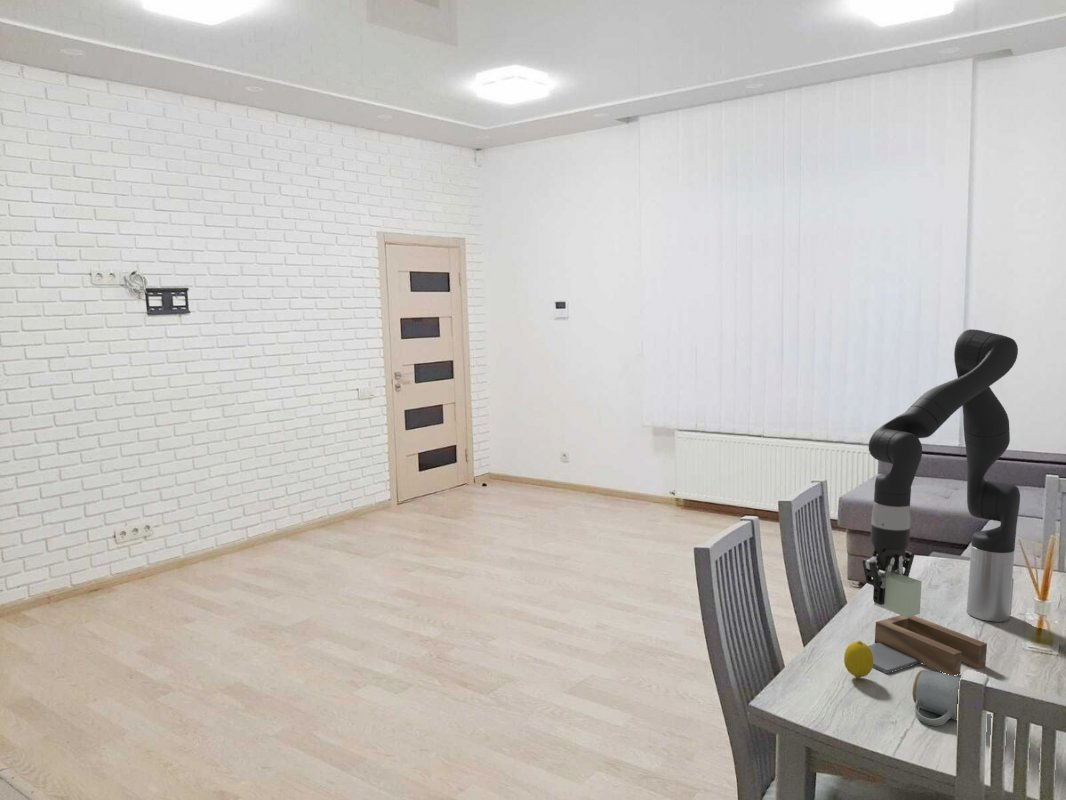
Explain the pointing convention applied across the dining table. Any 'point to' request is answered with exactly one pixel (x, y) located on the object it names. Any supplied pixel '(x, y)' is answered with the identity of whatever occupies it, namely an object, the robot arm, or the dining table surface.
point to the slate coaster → (889, 658)
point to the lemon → (858, 659)
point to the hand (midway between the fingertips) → (886, 601)
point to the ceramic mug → (936, 695)
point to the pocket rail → (931, 643)
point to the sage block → (902, 595)
